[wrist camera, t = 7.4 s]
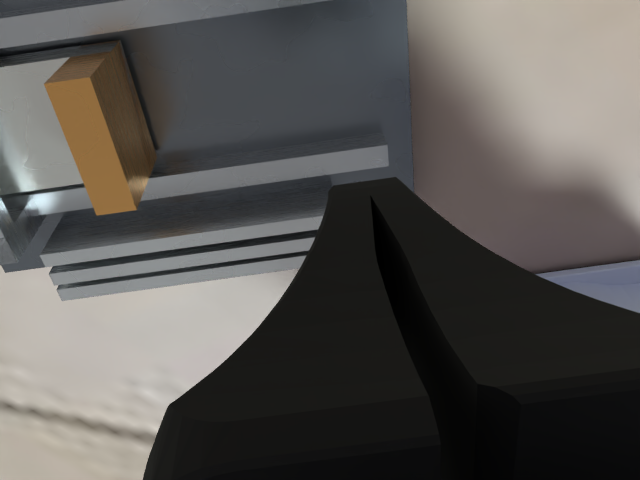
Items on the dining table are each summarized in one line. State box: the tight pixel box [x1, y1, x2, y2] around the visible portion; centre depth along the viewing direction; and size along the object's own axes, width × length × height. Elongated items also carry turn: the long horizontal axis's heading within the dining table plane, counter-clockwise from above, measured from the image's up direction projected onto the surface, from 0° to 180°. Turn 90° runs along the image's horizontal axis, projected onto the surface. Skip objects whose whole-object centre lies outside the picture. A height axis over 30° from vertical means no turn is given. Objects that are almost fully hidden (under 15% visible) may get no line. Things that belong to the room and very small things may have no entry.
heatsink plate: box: [0, 0, 414, 301], centre depth 18 cm, size 16×12×4 cm
